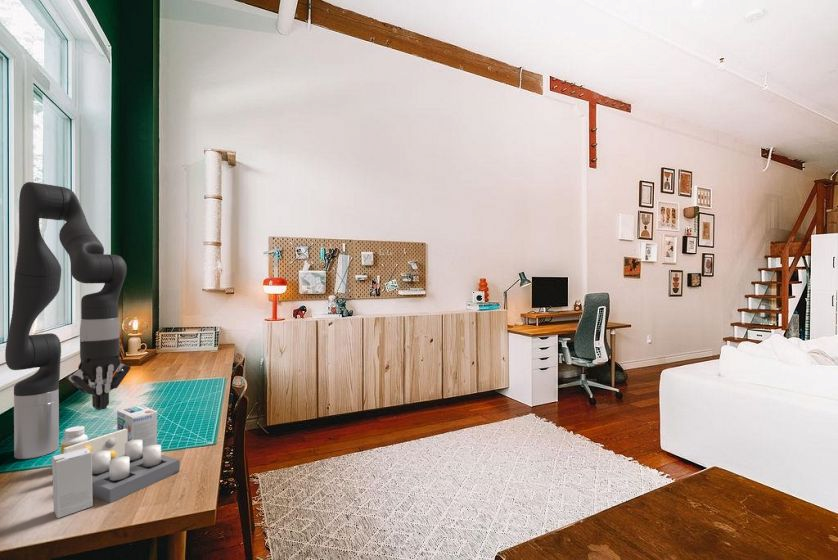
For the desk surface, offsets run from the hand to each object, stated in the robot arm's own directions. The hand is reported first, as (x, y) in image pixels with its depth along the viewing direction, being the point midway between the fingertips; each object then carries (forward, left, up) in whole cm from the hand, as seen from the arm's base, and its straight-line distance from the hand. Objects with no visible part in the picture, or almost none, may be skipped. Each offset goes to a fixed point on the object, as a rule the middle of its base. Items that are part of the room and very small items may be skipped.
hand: (100, 408), depth 99 cm
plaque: (-9, +4, -18) cm, 20 cm away
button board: (+4, +4, -18) cm, 19 cm away
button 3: (0, +8, -15) cm, 17 cm away
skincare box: (+7, -9, -18) cm, 22 cm away
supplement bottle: (-16, +2, -18) cm, 24 cm away
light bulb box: (-13, +16, -18) cm, 28 cm away
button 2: (+7, 0, -15) cm, 17 cm away
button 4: (+7, +8, -15) cm, 18 cm away
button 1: (0, 0, -15) cm, 15 cm away
